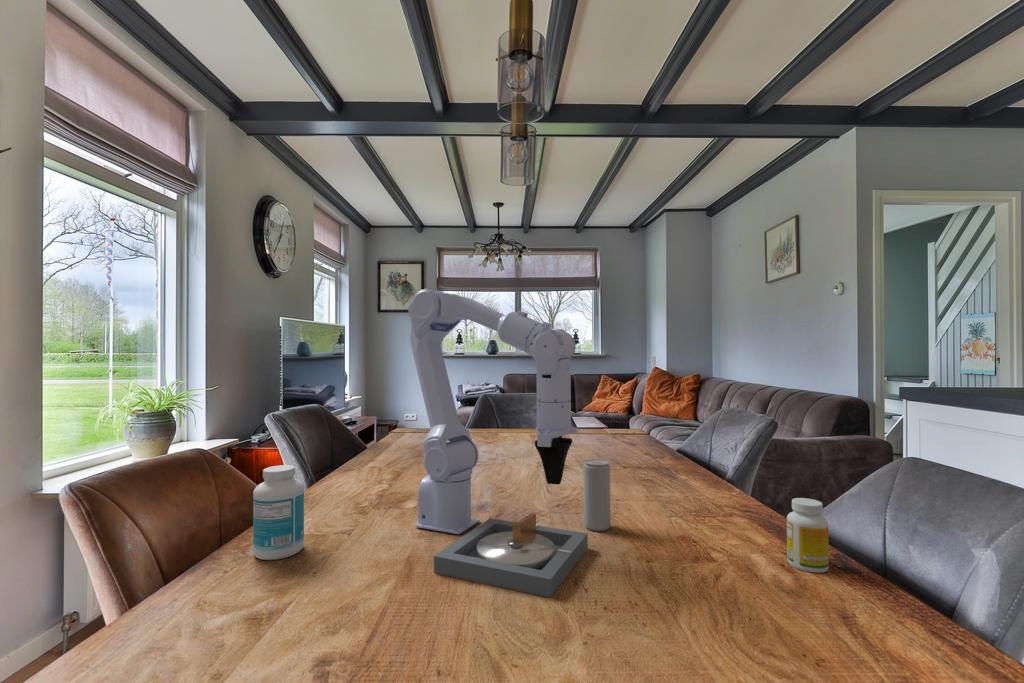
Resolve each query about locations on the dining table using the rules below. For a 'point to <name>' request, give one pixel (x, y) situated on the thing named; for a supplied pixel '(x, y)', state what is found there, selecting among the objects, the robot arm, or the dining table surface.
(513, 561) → the dial
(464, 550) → the slate tray
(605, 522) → the beverage can
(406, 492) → the dining table surface
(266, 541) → the pill bottle
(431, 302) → the robot arm
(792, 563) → the supplement bottle
